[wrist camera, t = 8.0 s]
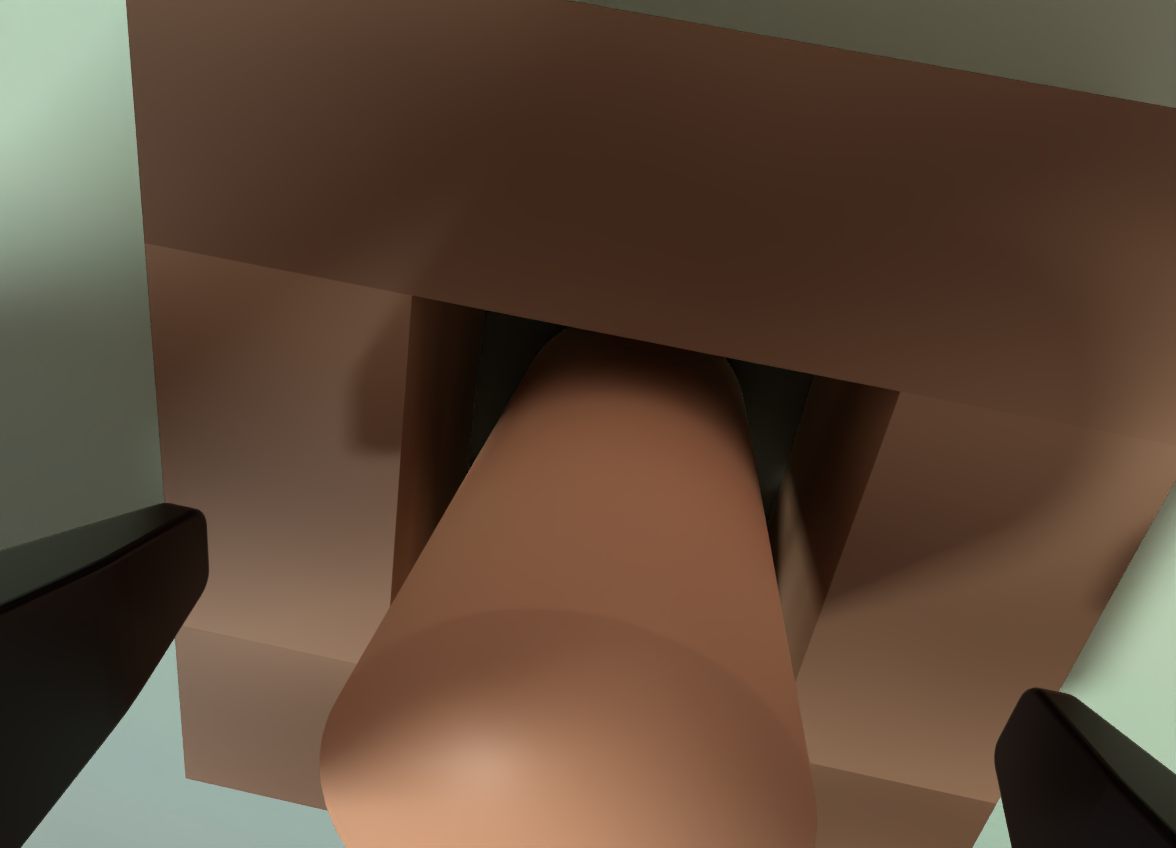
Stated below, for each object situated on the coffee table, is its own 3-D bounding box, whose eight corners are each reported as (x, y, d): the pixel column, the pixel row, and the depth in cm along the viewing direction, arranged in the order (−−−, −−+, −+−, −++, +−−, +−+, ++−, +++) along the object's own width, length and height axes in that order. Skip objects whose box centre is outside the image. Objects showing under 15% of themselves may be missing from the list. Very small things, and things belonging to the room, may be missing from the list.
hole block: (865, 746, 16) (918, 945, 12) (299, 623, 16) (186, 778, 12) (1132, 124, 11) (1362, 142, 7) (305, -24, 11) (119, -79, 8)
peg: (715, 540, 14) (745, 1015, 7) (505, 496, 14) (315, 916, 7) (772, 336, 12) (888, 676, 5) (533, 289, 13) (324, 557, 5)
